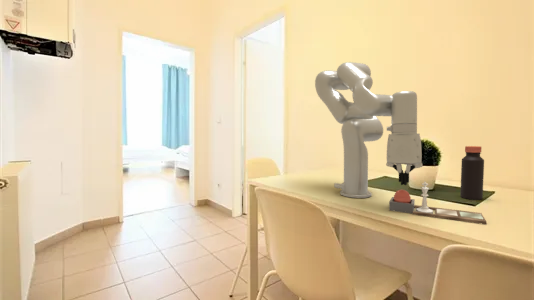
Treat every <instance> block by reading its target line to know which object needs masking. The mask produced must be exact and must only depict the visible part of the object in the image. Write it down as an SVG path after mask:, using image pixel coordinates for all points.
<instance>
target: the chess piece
mask: <svg viewBox="0 0 534 300" xmlns="http://www.w3.org/2000/svg"><path fill="white" fill-rule="evenodd" d="M421 185H422V187H421V192H422V193H421V194H420V196H421V197H422V200H421V205H419V206H420V207H421V208H415V211H416V212H424V213H432V214H434V210H431V209H428V208H429V207H430V206H428V199H427V197H429V194H428V191H429V187H427V186H429V183H427V182H426V181H423V183H421Z"/></svg>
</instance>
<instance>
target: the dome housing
mask: <svg viewBox="0 0 534 300" xmlns="http://www.w3.org/2000/svg"><path fill="white" fill-rule="evenodd" d="M415 202H416V201H415V199H413V198H411V203H402V202H394V196H392V197H391V198H390V200H389V202H388V203H389V204H388V210H389V211H391V212H399V213H407V214H412V215H413V211H415V208H414V205H415Z"/></svg>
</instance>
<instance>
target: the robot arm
mask: <svg viewBox="0 0 534 300" xmlns="http://www.w3.org/2000/svg"><path fill="white" fill-rule="evenodd" d="M371 71H372V70H371V69H370V67H369V66H368V65H367V64H366V63H361V62H353V61H352V62H351V61H349V62H348V61H347V62H342V63H341V64H340V65H339V66H338V67H337V69H336V70H323V71H320V72H319V73H318V74H316V76H315V80H314V87H315V91H316V94H317V97H319V98H320V100H321V101H322V103H323V104H324V105H325V106H326V108H327V109H328V111H329V112H330V113H331V115H332V116H333V118H334V119H335V120H336V122H337V123H339V124H342V125H341V130H340V133H341V139H342V142H343V144H342V145H343V182H342V183H339V182H334V183H333V187H334V188H335V189H340V191H339V194H340V195H341V196H342V197H343V196H344V197H346V198H352V199H365V198H370V197H372V195H373V194H372V192H371V191H370V190H368V188H369V186H368V184H369V182H368V181H369V180H368V179H369V176H368V175H369V150H368V148H367V146H366V144H365V142H375V141H378V140H380V139H381V138H382V137H383V135H384V127H383V124H382V121H381V120H380V119H379V118H378V117H391V124H390V125H389V126H386V132H390V134H388V137H387V142H386V143H387V144H386V164H385V165H386V167H389V168H393V169H394V170H395V171H396V172H397V173H398V182H399V183H400V185H401V186H403V185H404V186H407V185H408V183H410V173H411V172H412V171H413V170H415V169H420V168H422V167H423V161H422V158H423V157H422V155H423V154H422V141H421V140H422V139H421V135H420V133H418V95H417V92H415V91H411V90H403V91H398V92H397V91H396V92H394V93H393V94H377V93H376V94H375V93H373V92H371V91H370V90H371V88H372V87H373V83H374V82H373V78H372V75H371V74H372V73H371ZM338 90H339V91H338ZM348 90H350V91H351V92H352V100H353V102H351V101H348V100H347V99H346V98H345V97H344V95H343V94H342V93H341V92H340V91H348ZM402 165H405V166H406V167H405V170H403V167H402Z"/></svg>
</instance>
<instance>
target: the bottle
mask: <svg viewBox="0 0 534 300" xmlns="http://www.w3.org/2000/svg"><path fill="white" fill-rule="evenodd" d="M464 152H465V156H463V157H462V159H461V165H460V166H461V168H460V169H461V171H460V177H461V178H460V197H461V198H463V199H466V200H472V199H473V201H474V200H475V201H479V200H482V199H483V197H484V195H483V193H484V175H485V159H484V158H483V157H482V156H481V154H482V146H478V145H477V146H476V145H474V146H473V145H471V146H470V145H466V146H465V149H464Z"/></svg>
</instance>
